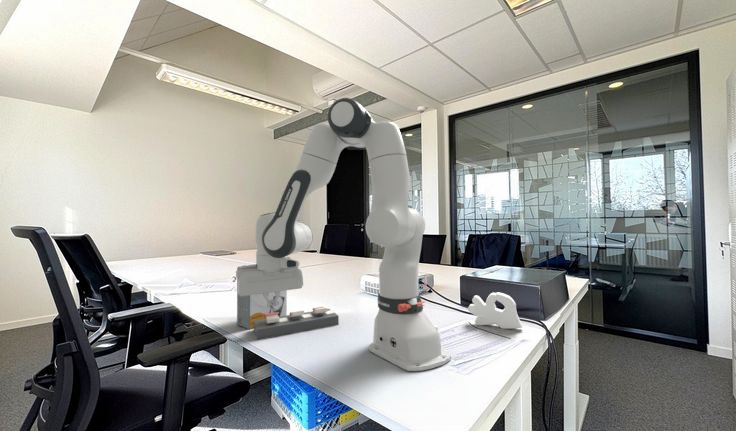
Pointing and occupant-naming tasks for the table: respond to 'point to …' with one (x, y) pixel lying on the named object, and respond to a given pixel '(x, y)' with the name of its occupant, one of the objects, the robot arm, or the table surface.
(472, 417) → the table surface
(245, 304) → the hard drive box
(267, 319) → the rocker
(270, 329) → the power strip
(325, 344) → the table surface
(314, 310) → the rocker
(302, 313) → the rocker
